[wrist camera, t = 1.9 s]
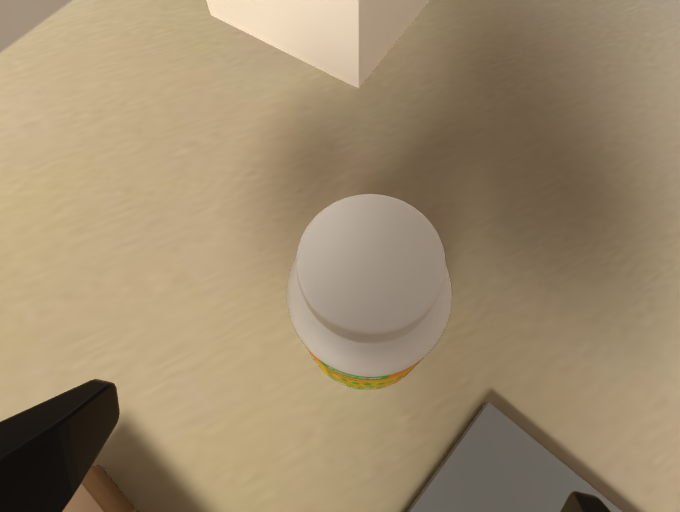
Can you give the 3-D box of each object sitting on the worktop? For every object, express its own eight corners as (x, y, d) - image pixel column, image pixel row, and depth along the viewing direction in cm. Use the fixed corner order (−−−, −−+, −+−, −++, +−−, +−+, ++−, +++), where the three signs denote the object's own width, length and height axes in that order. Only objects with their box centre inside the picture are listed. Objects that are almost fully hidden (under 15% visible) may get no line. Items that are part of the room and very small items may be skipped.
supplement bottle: (319, 402, 19) (283, 384, 10) (300, 288, 21) (256, 189, 12) (436, 378, 20) (502, 339, 10) (407, 267, 21) (442, 155, 12)
